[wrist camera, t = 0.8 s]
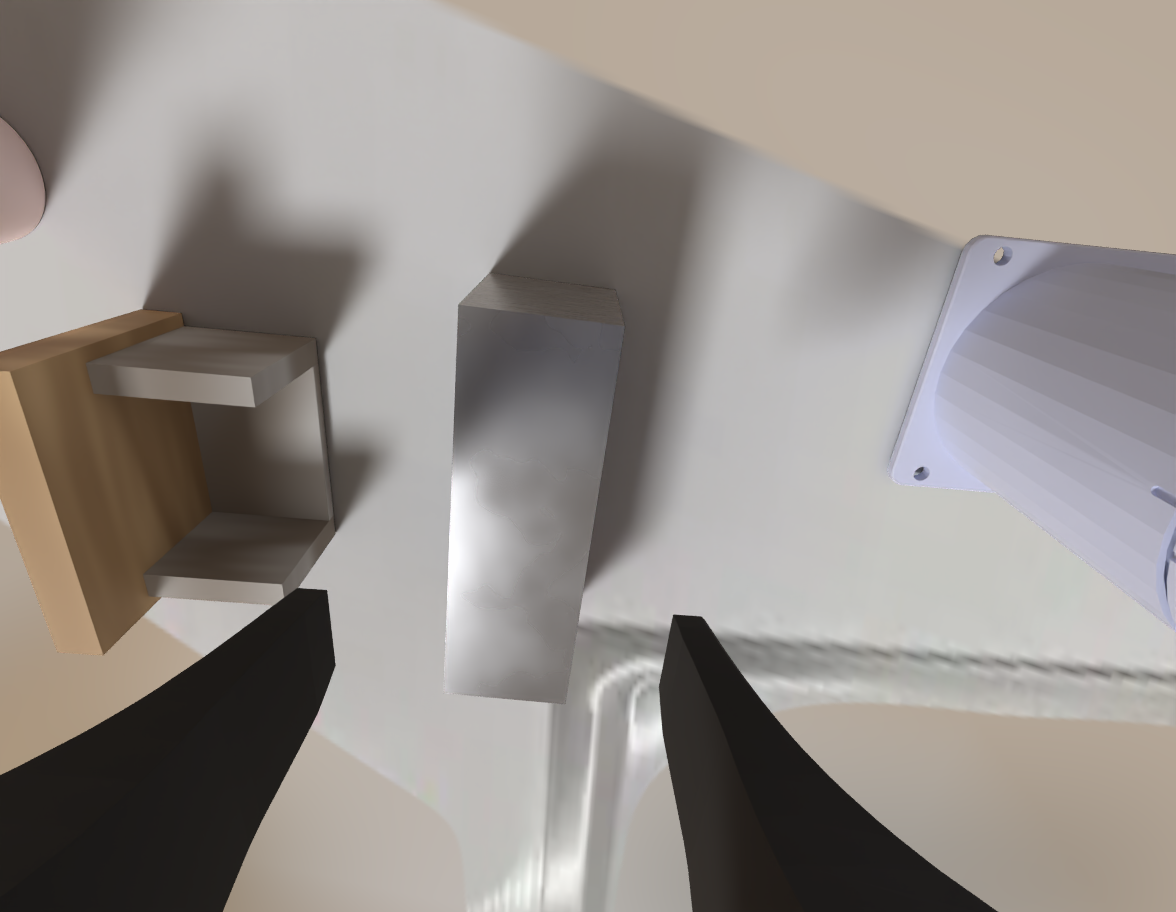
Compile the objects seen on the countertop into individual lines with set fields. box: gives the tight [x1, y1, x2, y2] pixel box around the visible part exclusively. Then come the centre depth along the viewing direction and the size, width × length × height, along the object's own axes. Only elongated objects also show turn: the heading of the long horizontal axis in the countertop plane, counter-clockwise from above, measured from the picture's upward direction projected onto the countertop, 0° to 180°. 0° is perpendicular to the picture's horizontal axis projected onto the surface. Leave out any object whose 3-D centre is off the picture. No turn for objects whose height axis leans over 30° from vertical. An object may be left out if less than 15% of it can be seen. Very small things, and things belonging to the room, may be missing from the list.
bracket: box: [0, 309, 335, 655], centre depth 17 cm, size 5×8×6 cm, turn 175°
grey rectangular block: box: [444, 273, 625, 704], centre depth 18 cm, size 12×4×5 cm, turn 173°
